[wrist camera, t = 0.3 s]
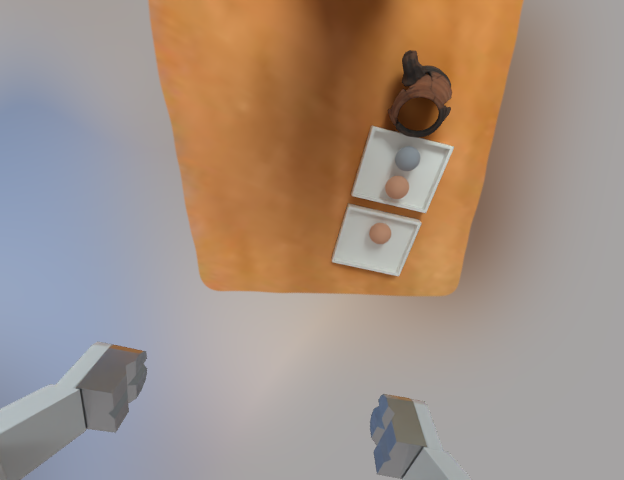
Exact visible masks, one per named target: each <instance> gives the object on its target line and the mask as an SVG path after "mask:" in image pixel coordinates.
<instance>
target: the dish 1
mask: <svg viewBox="0 0 624 480" xmlns="http://www.w3.org/2000/svg"><path fill="white" fill-rule="evenodd" d="M406 146H411V147H414V148H416V149H417V150H418V151H419V153H420V162H419V164H418V166H417V167H416V168H415V169H413V170H411V171H403V170H400V169H399V168H398V167H397V165H396V163H395V157H396V154H397V152H398V151H399V150H400V149H401V148H403V147H406ZM453 148H454V147H453V146H450V145H447V144H443V143H439V142H435V141H431V140H427V139H423V138H417V137H408V136H405V135H403V134H402V133H400V132H396V131H392V130H388V129H384V128H380V127H376V126H372V125H371V128H370V131H369V135H368V138H367V141H366V145H365V148H364V151H363V155H362V158H361V161H360V165H359V168H358V171H357V175H356V178H355V181H354V185H353V188H352V191H351V195H352V196H354V197H358V198H363V199H367V200H371V201H376V202H380V203H384V204H388V205H393V206H397V207H401V208H406V209H410V210H414V211H418V212H423V213H426V212H427V209H428V207H429V205H430V202H431V200H432V198H433V195H434V193H435V191H436V188H437V186H438V184H439V181H440V179H441V177H442V174H443V172H444V170H445V167H446V165H447V163H448V160H449V158H450V155H451V153H452V151H453ZM393 176H402V177H404V178H405V179H406V180H407V181H408V183H409V191H408V193H407V194H406V195H405V196H404V197H403V198H401V199H393V198H391V197H389V196H388V195H387V193H386V191H385V185H386V183H387V181H388V180H389V179H390V178H391V177H393Z"/></svg>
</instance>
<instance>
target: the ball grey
mask: <svg viewBox="0 0 624 480" xmlns="http://www.w3.org/2000/svg"><path fill="white" fill-rule="evenodd" d="M419 162H420V153H419V151H418V150H417V149H416V148H414V147H411V146H406V147H403V148H401V149H400V150H399V151H398V152H397V154H396V157H395V163H396V165H397V167H398V168H399V169H400V170H403V171H411V170H413V169H415V168H416V167H417V166H418V164H419Z"/></svg>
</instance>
